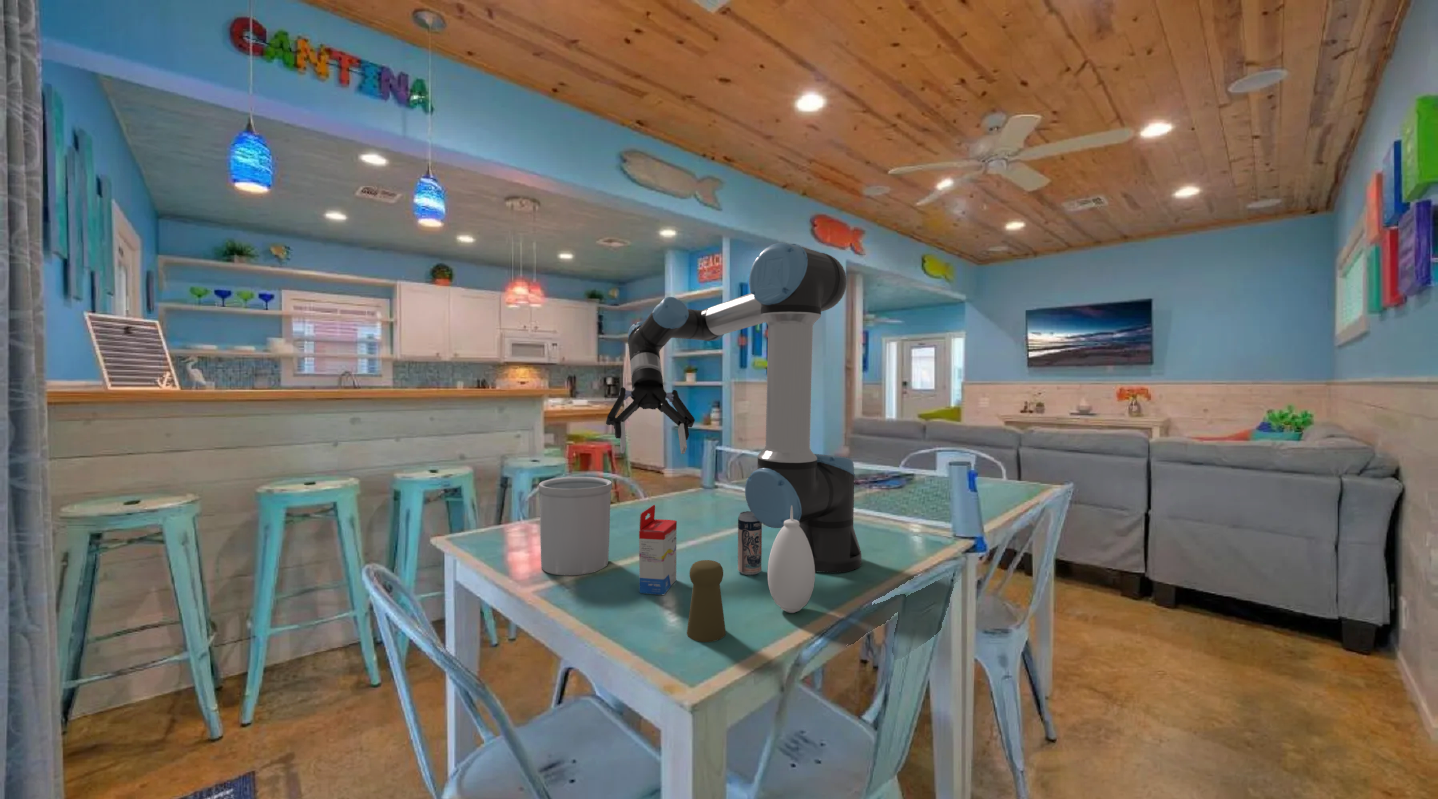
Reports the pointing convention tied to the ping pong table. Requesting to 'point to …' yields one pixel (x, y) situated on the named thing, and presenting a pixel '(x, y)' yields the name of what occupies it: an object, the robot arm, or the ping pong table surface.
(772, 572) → the air blower bulb
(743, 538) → the beer can
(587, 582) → the ping pong table surface
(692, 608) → the cork
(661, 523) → the ink box
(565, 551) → the utensil holder
